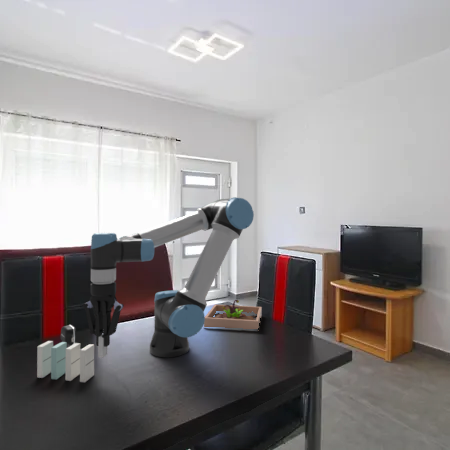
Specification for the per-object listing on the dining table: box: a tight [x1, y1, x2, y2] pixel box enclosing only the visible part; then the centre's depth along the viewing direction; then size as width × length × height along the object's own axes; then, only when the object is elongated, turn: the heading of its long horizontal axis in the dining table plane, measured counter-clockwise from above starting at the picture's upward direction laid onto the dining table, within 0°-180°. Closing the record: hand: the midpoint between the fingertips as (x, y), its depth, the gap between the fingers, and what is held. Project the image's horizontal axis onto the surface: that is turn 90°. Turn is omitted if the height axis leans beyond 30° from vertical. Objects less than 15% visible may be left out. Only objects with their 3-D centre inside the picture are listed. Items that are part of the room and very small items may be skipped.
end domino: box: [36, 340, 54, 379], centre depth 107 cm, size 2×5×10 cm, turn 170°
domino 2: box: [64, 342, 81, 382], centre depth 105 cm, size 2×5×10 cm, turn 170°
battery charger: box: [60, 324, 77, 348], centre depth 120 cm, size 7×4×11 cm, turn 42°
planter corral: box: [203, 304, 263, 329], centre depth 164 cm, size 25×25×5 cm
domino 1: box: [50, 341, 67, 380], centre depth 106 cm, size 2×5×10 cm, turn 170°
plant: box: [212, 299, 256, 320], centre depth 165 cm, size 20×20×11 cm
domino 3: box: [79, 343, 95, 383], centre depth 105 cm, size 2×5×10 cm, turn 170°
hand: (102, 356), depth 104 cm, fingers closed
